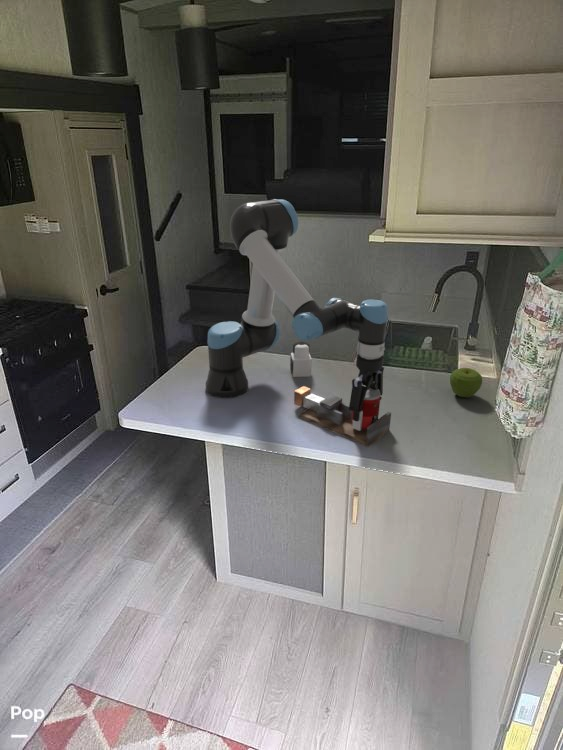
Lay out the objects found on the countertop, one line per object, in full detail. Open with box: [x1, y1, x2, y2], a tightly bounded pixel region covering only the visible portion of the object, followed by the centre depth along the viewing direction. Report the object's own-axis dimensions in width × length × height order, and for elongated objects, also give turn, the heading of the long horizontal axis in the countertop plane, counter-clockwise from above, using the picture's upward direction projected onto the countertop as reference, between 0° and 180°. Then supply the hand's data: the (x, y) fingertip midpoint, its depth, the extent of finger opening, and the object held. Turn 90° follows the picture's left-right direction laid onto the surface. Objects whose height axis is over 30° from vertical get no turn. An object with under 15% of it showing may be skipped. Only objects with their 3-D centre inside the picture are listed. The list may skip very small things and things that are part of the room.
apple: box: [449, 367, 483, 398], centre depth 178 cm, size 11×10×10 cm
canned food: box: [351, 385, 381, 430], centre depth 155 cm, size 8×8×11 cm
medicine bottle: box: [289, 341, 313, 378], centre depth 193 cm, size 7×7×12 cm
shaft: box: [293, 385, 340, 412], centre depth 167 cm, size 15×5×5 cm, turn 50°
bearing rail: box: [298, 394, 392, 447], centre depth 161 cm, size 26×12×7 cm, turn 50°
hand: (364, 423), depth 157 cm, fingers closed on canned food, 8 cm apart
